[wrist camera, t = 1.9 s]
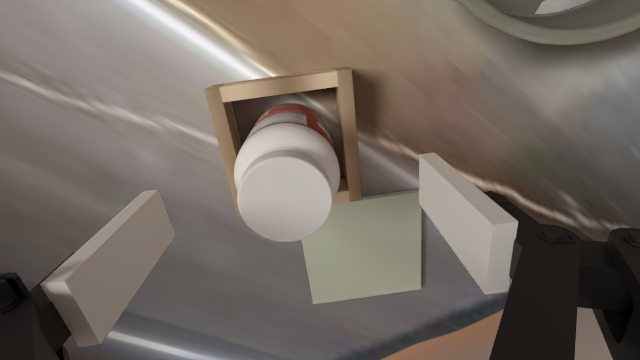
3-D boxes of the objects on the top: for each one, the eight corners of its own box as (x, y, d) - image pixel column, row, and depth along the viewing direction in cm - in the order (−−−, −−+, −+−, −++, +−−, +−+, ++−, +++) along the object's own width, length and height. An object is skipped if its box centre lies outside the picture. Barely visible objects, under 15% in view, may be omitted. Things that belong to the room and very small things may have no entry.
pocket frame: (243, 203, 27) (238, 217, 25) (213, 85, 23) (204, 89, 21) (356, 187, 27) (362, 200, 25) (346, 66, 23) (351, 69, 21)
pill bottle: (330, 172, 27) (349, 250, 17) (258, 178, 27) (232, 260, 16) (327, 98, 24) (347, 136, 14) (247, 104, 24) (209, 146, 14)
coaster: (312, 300, 32) (313, 304, 32) (296, 206, 28) (296, 209, 27) (418, 285, 32) (420, 289, 32) (419, 189, 28) (421, 191, 27)
